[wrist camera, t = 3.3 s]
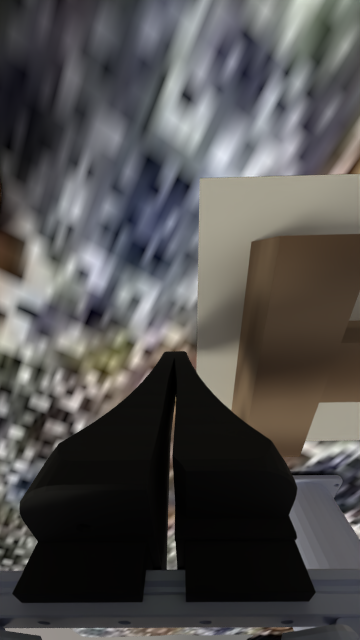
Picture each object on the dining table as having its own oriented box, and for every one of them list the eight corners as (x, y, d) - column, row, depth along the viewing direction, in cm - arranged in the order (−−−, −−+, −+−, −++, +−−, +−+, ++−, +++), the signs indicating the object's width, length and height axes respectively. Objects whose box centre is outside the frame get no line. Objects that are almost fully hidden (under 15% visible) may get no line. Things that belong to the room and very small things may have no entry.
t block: (392, 416, 14) (444, 454, 12) (230, 418, 15) (242, 457, 12) (499, 235, 9) (634, 227, 7) (251, 241, 10) (280, 235, 7)
